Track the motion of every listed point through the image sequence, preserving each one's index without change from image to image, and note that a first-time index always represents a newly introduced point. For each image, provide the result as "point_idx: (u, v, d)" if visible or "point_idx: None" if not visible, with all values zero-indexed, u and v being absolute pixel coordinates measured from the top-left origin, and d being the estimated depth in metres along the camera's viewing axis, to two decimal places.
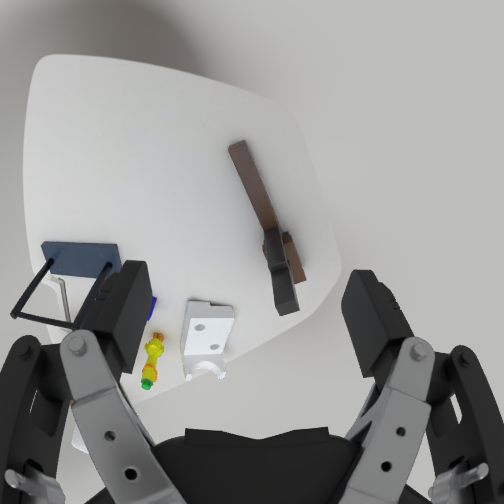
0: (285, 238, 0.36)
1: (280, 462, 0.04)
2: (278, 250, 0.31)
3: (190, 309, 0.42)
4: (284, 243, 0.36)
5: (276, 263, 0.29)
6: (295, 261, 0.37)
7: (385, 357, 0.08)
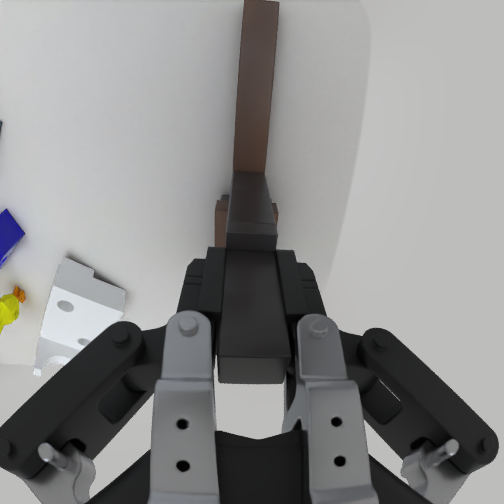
0: None
1: (280, 462, 0.04)
2: (259, 207, 0.13)
3: (59, 270, 0.20)
4: None
5: (250, 231, 0.11)
6: None
7: (289, 334, 0.08)
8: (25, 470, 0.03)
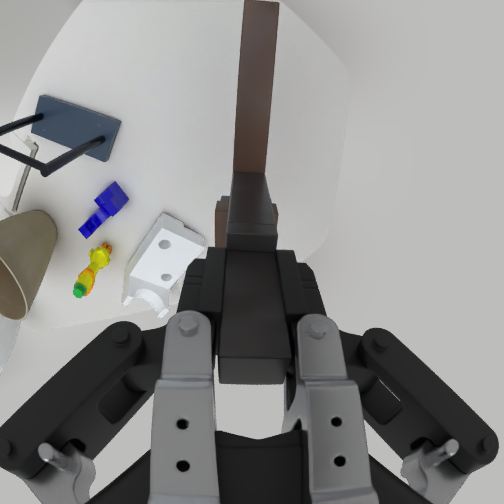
0: None
1: (280, 462, 0.04)
2: (259, 208, 0.13)
3: (163, 220, 0.37)
4: None
5: (250, 232, 0.11)
6: None
7: (289, 334, 0.08)
8: (25, 470, 0.03)
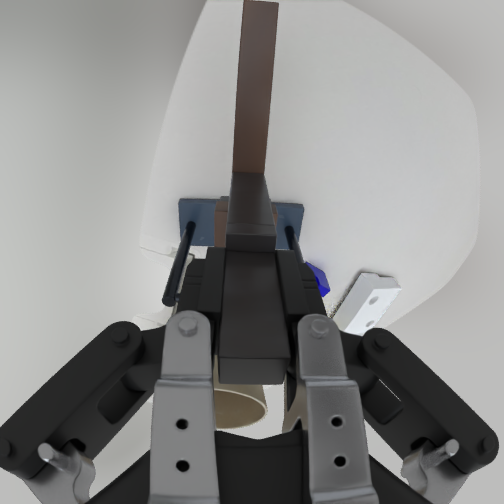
0: None
1: (280, 462, 0.04)
2: (259, 209, 0.13)
3: (368, 280, 0.38)
4: None
5: (250, 232, 0.11)
6: None
7: (290, 334, 0.08)
8: (25, 470, 0.03)
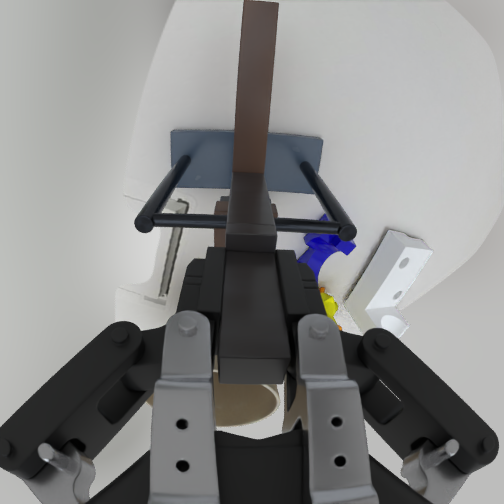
0: None
1: (280, 462, 0.04)
2: (259, 208, 0.13)
3: (397, 238, 0.31)
4: None
5: (249, 232, 0.11)
6: None
7: (290, 334, 0.08)
8: (25, 470, 0.03)
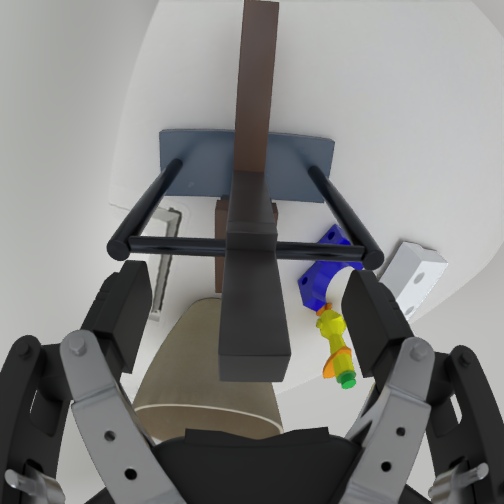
0: None
1: (280, 462, 0.04)
2: (259, 207, 0.13)
3: (413, 251, 0.27)
4: None
5: (250, 230, 0.11)
6: None
7: (385, 357, 0.08)
8: None
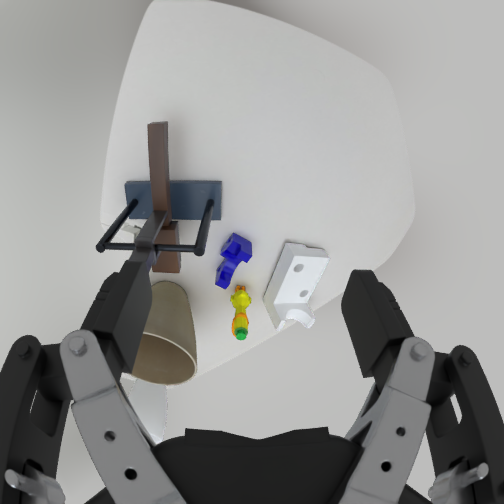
0: (170, 225, 0.36)
1: (280, 462, 0.04)
2: (152, 230, 0.30)
3: (291, 249, 0.44)
4: (167, 229, 0.35)
5: (142, 240, 0.28)
6: None
7: (385, 357, 0.08)
8: None
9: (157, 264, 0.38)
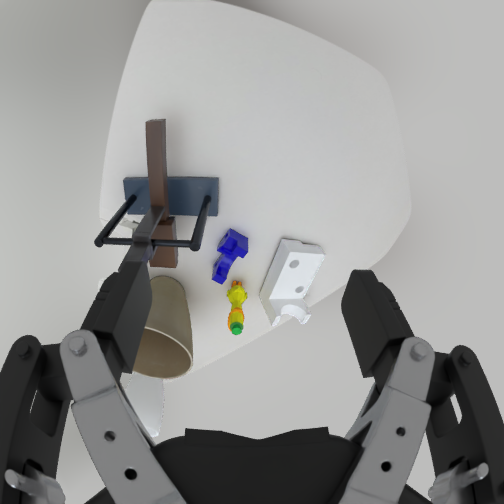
0: (168, 221, 0.36)
1: (280, 462, 0.04)
2: (149, 225, 0.31)
3: (286, 245, 0.45)
4: (164, 224, 0.36)
5: (140, 235, 0.29)
6: None
7: (385, 357, 0.08)
8: None
9: (154, 259, 0.38)
